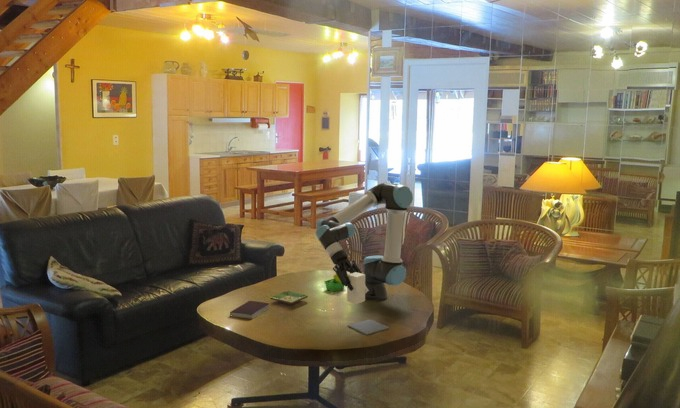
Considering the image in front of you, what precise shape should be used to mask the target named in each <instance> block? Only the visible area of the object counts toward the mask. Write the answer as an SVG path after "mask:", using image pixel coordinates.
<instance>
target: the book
mask: <svg viewBox="0 0 680 408" xmlns="http://www.w3.org/2000/svg"><path fill="white" fill-rule="evenodd" d="M269 309H270V303H269V302H263V301H254V300H248V301H246V302H245V303H242V304H241V305H239V306H238V307H236V308H235V309H233V310H231V311H230V313H229V315H230V317H234V316H237V317H236V318H239V317H242V318H241V319H245V318H246V319H245V320H253V319H255V318H257V317H258V316H259V315H261V314H262V313H264V312H265V311H267V310H269ZM231 315H232V316H231Z"/></svg>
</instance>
